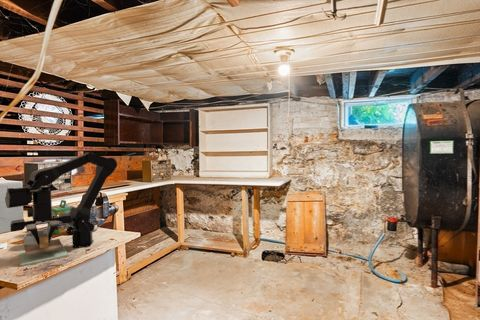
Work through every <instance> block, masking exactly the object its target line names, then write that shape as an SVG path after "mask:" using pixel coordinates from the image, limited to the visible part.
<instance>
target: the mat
mask: <svg viewBox="0 0 480 320" xmlns="http://www.w3.org/2000/svg"><path fill="white" fill-rule="evenodd" d="M61 244H62V246H63V248H61V249H56V250H51V251H46V252H41V253H36V254H32V255H27V256H26V252H25V251H22V252H19V264H20V267H21V268H22V267H25V266H29V265H30V266H31V265H34V264H39V263H44V262H49V261H53V260H58V259H62V258H66V257H69V253H68V252H67V250H66V248H65V246H64V244H63V243H61Z"/></svg>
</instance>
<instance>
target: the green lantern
mask: <svg viewBox="0 0 480 320" xmlns="http://www.w3.org/2000/svg"><path fill="white" fill-rule="evenodd" d="M72 207H74V206H73V205H70V204H69V205H68V204H67V200H64V199H61V200H60V204H59V205H58V206H52V218H53V216H57V215H59V214H66V213H70V211H71V208H72ZM49 221H50V220H49ZM48 229H49V223H47V230H48ZM66 231H67V229H60V230H55V231H54V232H53V234H55V235H58V234H61V233H66ZM67 232H68V231H67Z"/></svg>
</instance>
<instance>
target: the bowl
mask: <svg viewBox="0 0 480 320" xmlns="http://www.w3.org/2000/svg"><path fill="white" fill-rule="evenodd" d="M37 231H38V236H39V234H45V233H47V235H48V229H42V230H40V229H39V230H37ZM51 240H53V236H52V237H51ZM23 243H24V246H25V245H28V244H34V243H37V241H36V239H35V237H34V236H33V234H32V233H31V231H29V232H28V233H25V234H23Z"/></svg>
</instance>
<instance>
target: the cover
mask: <svg viewBox="0 0 480 320" xmlns="http://www.w3.org/2000/svg"><path fill="white" fill-rule="evenodd" d="M39 241H40V245H38V244H37V243H34V244H28V245H24V252H26V256H27V255H32V254H36V253H41V252H46V251H51V250H56V249H61V248H63V246H64V245H63V246H62V244H63V243H62V242H61V239H60V238H56V239H52V240H50V242H49V243H48V235H47V233H45V234H39Z"/></svg>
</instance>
